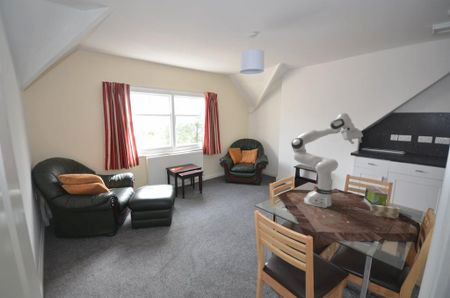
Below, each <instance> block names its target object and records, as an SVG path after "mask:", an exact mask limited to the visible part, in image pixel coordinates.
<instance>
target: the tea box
mask: <svg viewBox="0 0 450 298" xmlns="http://www.w3.org/2000/svg"><path fill="white" fill-rule="evenodd" d="M387 199H388V192H386V191H384V190H383V189H382V188H380V187H378V186H367V185H366V188H365V192H364V198H363V202H364V203H365V204H366V205H367V206H369V208H370V206H371V204H374V205H383V206H387V205H386V204H387V201H388V200H387Z"/></svg>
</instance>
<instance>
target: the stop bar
mask: <svg viewBox="0 0 450 298" xmlns="http://www.w3.org/2000/svg"><path fill="white" fill-rule="evenodd" d="M400 210H401V209H400V208H399V207H398V206H389V205H385V206H383V205H374V204H371V206H370V207H369V213H370V214H371V215H370V214H369V215H370V216H373V215H376V216H375V217H381V216H385V217H384V218H389V217H391V218H390V219H396V218H398V219H399V215H400Z"/></svg>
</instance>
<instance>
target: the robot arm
mask: <svg viewBox="0 0 450 298" xmlns="http://www.w3.org/2000/svg"><path fill="white" fill-rule="evenodd" d="M352 121H353V120H352V118H351V117H350V115H349V114H348V113H345V112H344V113H340V114H338V115H337V117H336V118H335V119H333V120H332V121H330V125H329V126H328V127H326V128H323V129H322V130H316V129H310V130H307V131H305V132H303V133H301V134H299V135H298V136H297V137H296V138H294V139H293V140H292V141H291V142H290V143H291V147H292V148H291V149H292V150H293V152H294V156H293V157H294V160H295V161H296V162H298V163H300V164H302V165H304V166H306V167H309V168H312V169H315V171H316V174H317V186H316V185H313V190H312V191H309V192H308V193H307V194H306V196H305V197H304V198H303V201H304V203H305V204H306V205H309V206H313V207H314V206H315V207H320V208H323V209H324V208H325V209H326V208H328V207H331V206H332V205H333V204H332V193H333V189H332V188H333V179H332V173H333V172H335V171H336V170H337V168H338V166H339V163H338V161H337V160H336V159H333V158H328V157H324V156H318V155H314V154H311V153H310V152H307V150H306V147H305V145H307V144H310V143H311V142H314V141H316V140H318V139H320V138H323V137H326V136H328V135H332V134H339V133H341V137H342V138H343V140H344V141H349V142H350V144H351V145H354V144H355V141H353V140H356V139H357V140H358V143H362V142H363V141H362V138H363V137H364V135H363V133H362V131H361V130H360V129H359V128H356V127H355V124H354V123H353V122H352ZM342 129H343V130H342Z"/></svg>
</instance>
